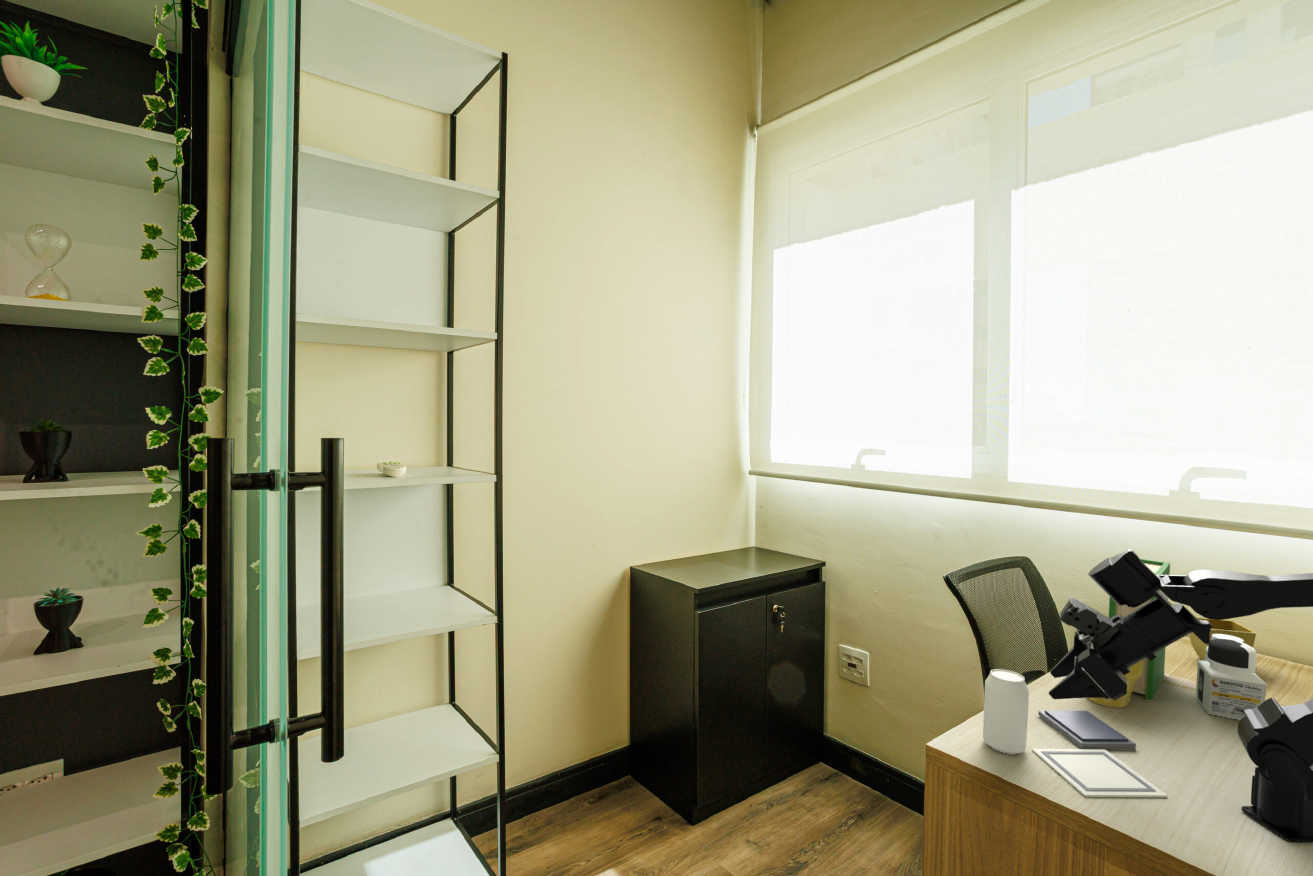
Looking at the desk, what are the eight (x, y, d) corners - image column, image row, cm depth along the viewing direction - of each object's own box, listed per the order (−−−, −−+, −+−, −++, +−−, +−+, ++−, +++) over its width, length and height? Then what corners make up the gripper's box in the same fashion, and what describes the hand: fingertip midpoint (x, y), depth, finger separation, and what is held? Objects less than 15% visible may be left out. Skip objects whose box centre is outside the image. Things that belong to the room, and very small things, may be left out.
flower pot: (1205, 669, 134) (1207, 628, 134) (1184, 654, 143) (1186, 615, 142) (1255, 674, 132) (1257, 633, 131) (1230, 659, 140) (1232, 620, 140)
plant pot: (1145, 718, 111) (1148, 665, 111) (1076, 704, 116) (1079, 653, 116) (1135, 696, 120) (1137, 646, 120) (1071, 683, 125) (1073, 636, 125)
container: (1207, 715, 113) (1212, 645, 113) (1195, 698, 120) (1198, 632, 119) (1264, 725, 110) (1269, 653, 109) (1247, 707, 116) (1252, 640, 116)
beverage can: (1022, 742, 102) (1025, 671, 102) (1029, 761, 97) (1032, 686, 96) (980, 734, 105) (983, 664, 104) (984, 752, 99) (988, 679, 98)
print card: (1167, 797, 88) (1167, 794, 88) (1084, 797, 88) (1085, 794, 88) (1104, 751, 100) (1104, 748, 100) (1031, 750, 100) (1032, 748, 100)
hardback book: (1151, 701, 118) (1158, 577, 117) (1104, 688, 124) (1111, 570, 123) (1163, 674, 131) (1170, 562, 130) (1120, 664, 136) (1126, 556, 135)
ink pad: (1135, 749, 101) (1136, 741, 101) (1081, 749, 100) (1081, 741, 100) (1087, 716, 112) (1087, 708, 112) (1038, 716, 111) (1038, 708, 111)
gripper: (1096, 573, 101) (1015, 625, 108) (1102, 601, 85) (1006, 660, 92) (1155, 631, 97) (1067, 681, 104) (1172, 671, 81) (1067, 727, 88)
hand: (1051, 685), depth 97 cm, fingers open, 9 cm apart
